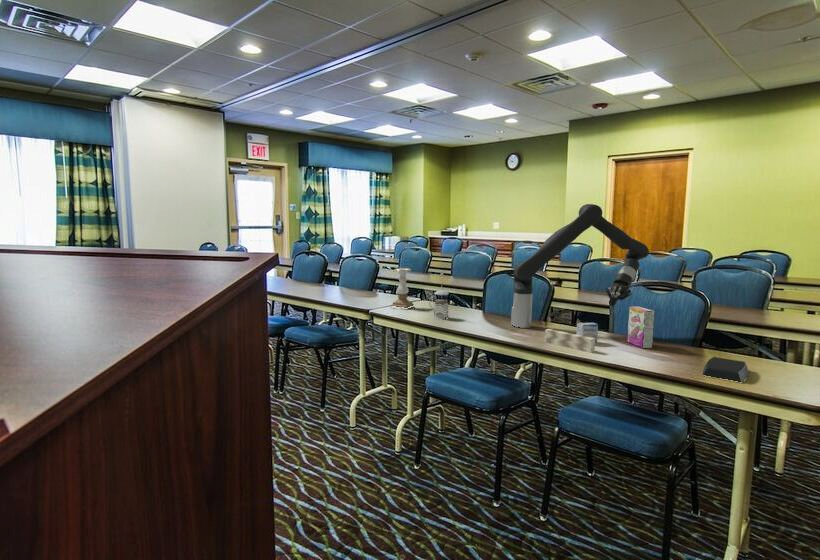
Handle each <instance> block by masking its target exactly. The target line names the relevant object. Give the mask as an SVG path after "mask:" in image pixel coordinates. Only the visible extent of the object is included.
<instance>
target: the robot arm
mask: <svg viewBox="0 0 820 560" xmlns="http://www.w3.org/2000/svg"><path fill="white" fill-rule="evenodd" d="M591 227H593V228H595V230H598V231H599V232H600V233H601V234H603V235H604V236H605V237H606V238H607V239H608V240H610V241H611V242H612V243H613V244H615V246H617V247H619V248H620V249H621V250H623V251H624V250H627V251H626V252H625V256H624V261H623V264H622V265H621V268H620V269H619V270H618V272H617V274H616V276H615V279H614V281H613V283H612V284H611V285H610V286H609V287H608V286H605V288H604V289H605V292H606V293H607V294H606V295H607V296H608V299H609V300H608V304H609V306H610V307H614V306H615V305H616V304H617V302H618V301H619V300H620V301H623V300H625V299H627V298H628V297H630V296H631V295H633V293H632V291H631V289H630V287H632V283H633V281H634V279H635V278H636V274H637V272H638V270H639V268H640V262H639V261H640V260H642V259H645V258H647V257H648V256H649V254H650V250H649V248H648V246H647V245H646V244H645V243H643V242H642V241H639V240H637V239H634V238H632V237H631V236H630V235H628V234H627V233H626V232H625V231H624V230H622V229H621V228H620V227H618V226H616V225H615V224H613V223H612V222H610V221H609V220H607V219H606V218H605V217H603V209H602V207H600V205H597V204H593V203H587V204H584V205H582V206H581V207H580V208H579V210H578V216H577V217H576V218H575V219H574V220H573V221H572V222H569V223H568V224H566V225H565V226H563V227H561V228H559V229H558V230H556V231H554V232H553V234H551V235H550V236H549V237H548V238H547V239H545V240H544V242H543V243H542V244H541V245H540V246H539V248H538V249H537V250H536V252H535V253H533V254H532V255H531V256H530V257H529V258H527V259H525V260H523V261H519V262H518V263H516V264H515V265H514V269H513V303H512V304H513V306H511V313H510V314H511V316H510V326H512V325H513V326H512V327H514V326H515V328H518V327H520V329H529V328H532V312H533V311H532V309H533V290H534V289H533V277H534V276H535V275H536V273H538V271H540V269H541V268H542V267H543V266H545V265H546V264H547V263H549V262H550V261H552V260H553V259H554V258H556V256H558V255H559V254H560V253H562V252H563V251H564V250H565V249H566V248H567V247H568V246H569V245H571V243H573V242H574V241H575V240H576V239H577V238H578V237H579V236H580V235H582V234H583V233H584V232H585V231H587V230H588V229H589V228H591Z"/></svg>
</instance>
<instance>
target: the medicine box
mask: <svg viewBox="0 0 820 560" xmlns="http://www.w3.org/2000/svg"><path fill="white" fill-rule="evenodd" d="M598 329H599V324H598V323H595V322H580V323H579V322H578V323H576V335H581V336H586V337H591V338H595V344H597V343H598V331H599V330H598Z"/></svg>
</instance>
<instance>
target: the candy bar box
mask: <svg viewBox="0 0 820 560" xmlns="http://www.w3.org/2000/svg"><path fill="white" fill-rule="evenodd" d="M628 308H629V309H628V322H627V324H628V325H627V339H626V342H627V343H629V344H631V345H633V346H636V347H638V348H640V347H641V349H643V348H646V349H652V348H653V341H654V340H653V339H654V328H655V317H656V316H655V314H656V311H654V310H652V309H649V308H645V307H641V306H640V305H639V306H635V305H634V306H629V307H628Z"/></svg>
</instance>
